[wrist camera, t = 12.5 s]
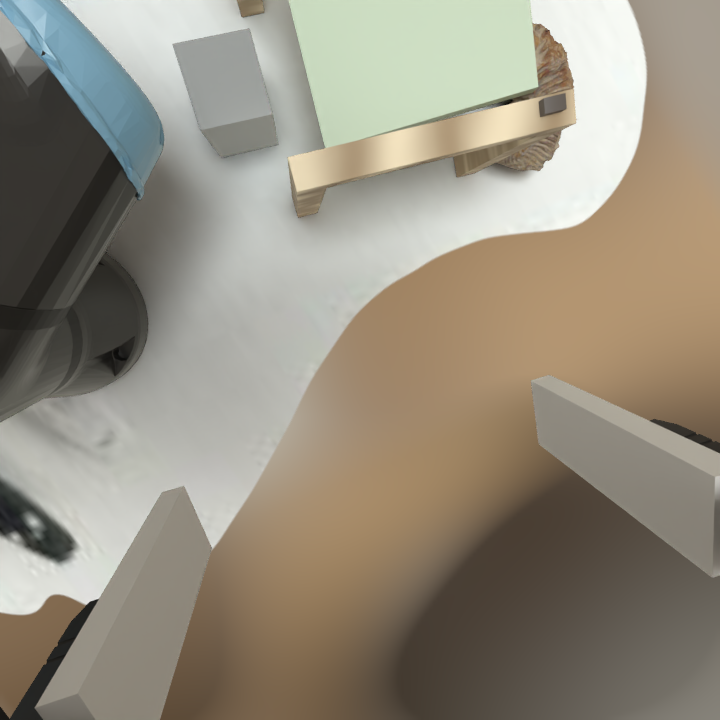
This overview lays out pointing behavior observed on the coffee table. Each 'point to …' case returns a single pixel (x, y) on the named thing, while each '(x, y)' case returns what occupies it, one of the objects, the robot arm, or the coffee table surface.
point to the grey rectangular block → (228, 92)
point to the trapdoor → (411, 60)
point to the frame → (426, 142)
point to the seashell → (550, 81)
